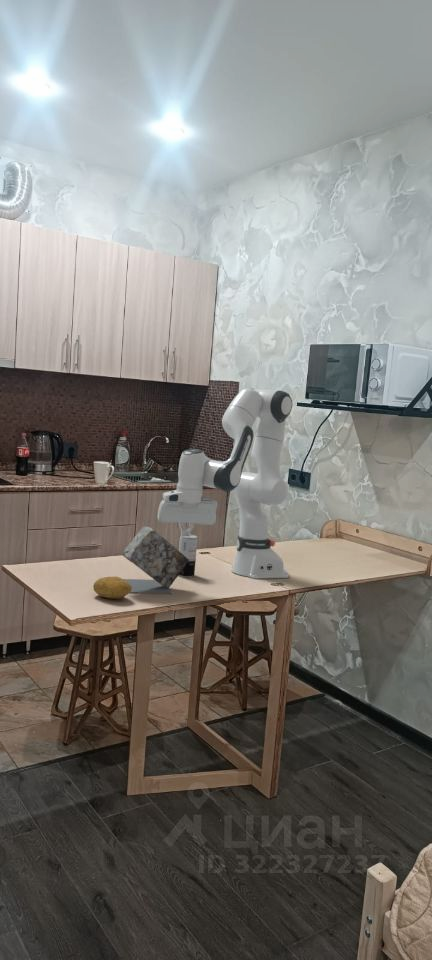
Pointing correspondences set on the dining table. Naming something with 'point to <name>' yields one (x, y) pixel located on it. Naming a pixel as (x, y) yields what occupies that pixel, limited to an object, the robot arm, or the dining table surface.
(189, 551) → the beverage can
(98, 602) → the dining table surface
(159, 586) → the mat
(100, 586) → the potato
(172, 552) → the stone block
